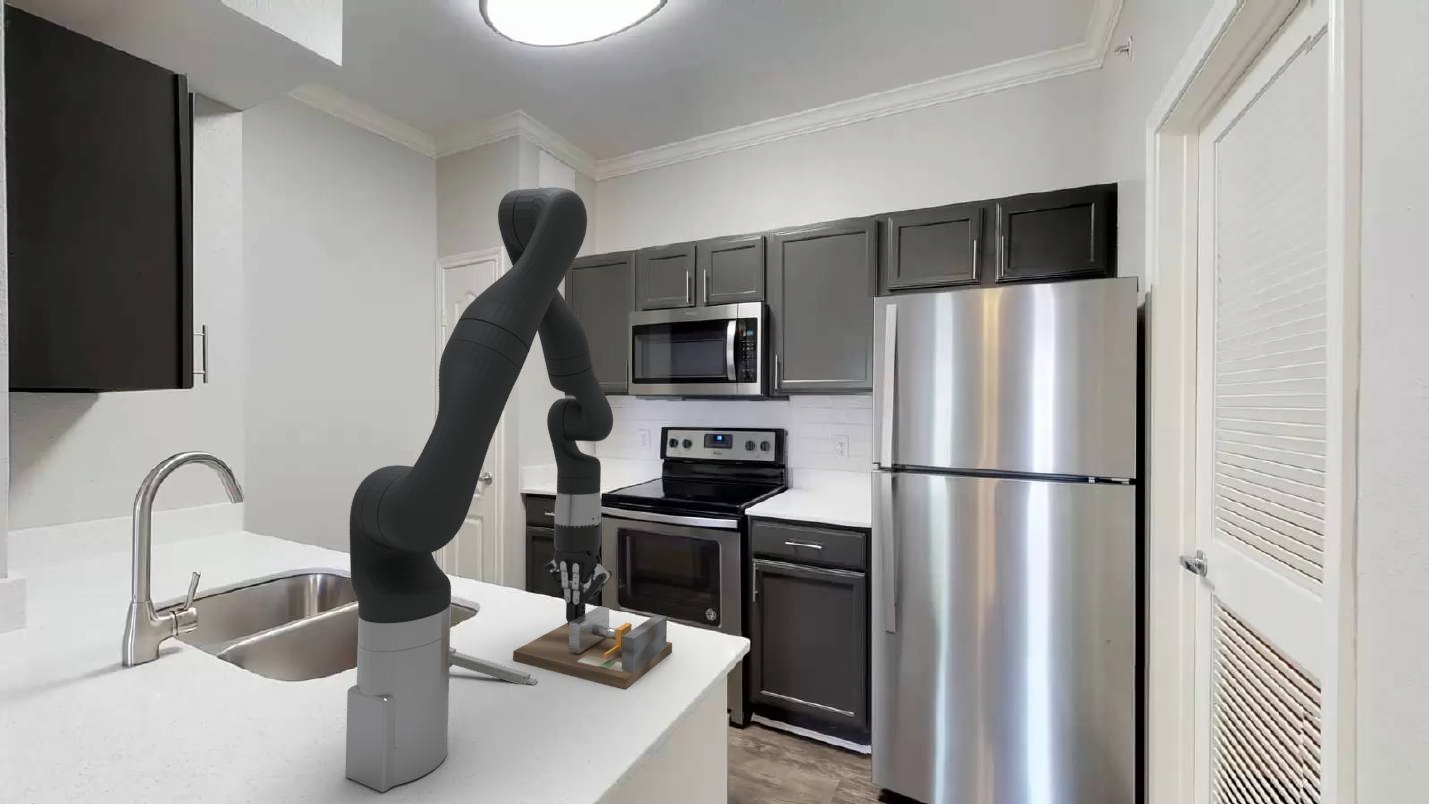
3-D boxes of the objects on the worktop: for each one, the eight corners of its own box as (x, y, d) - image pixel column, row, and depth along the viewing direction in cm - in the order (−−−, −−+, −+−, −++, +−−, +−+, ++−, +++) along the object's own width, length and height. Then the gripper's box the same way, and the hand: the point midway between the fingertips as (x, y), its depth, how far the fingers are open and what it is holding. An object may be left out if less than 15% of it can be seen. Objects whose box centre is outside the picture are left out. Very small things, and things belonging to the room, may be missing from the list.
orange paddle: (607, 658, 85) (608, 638, 86) (602, 657, 86) (602, 637, 86) (631, 642, 91) (631, 623, 91) (625, 641, 92) (626, 622, 92)
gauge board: (625, 689, 82) (626, 643, 82) (513, 660, 90) (513, 619, 90) (671, 651, 95) (672, 612, 95) (569, 629, 103) (570, 593, 103)
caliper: (406, 675, 86) (407, 633, 86) (411, 671, 87) (412, 630, 87) (534, 687, 82) (535, 643, 83) (538, 683, 84) (538, 640, 84)
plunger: (606, 659, 87) (606, 629, 87) (568, 650, 90) (569, 622, 90) (634, 640, 94) (634, 613, 94) (598, 632, 97) (599, 606, 97)
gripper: (530, 519, 93) (528, 625, 93) (597, 527, 88) (595, 640, 88) (560, 511, 100) (558, 610, 100) (624, 519, 95) (622, 623, 95)
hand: (575, 624), depth 94 cm, fingers closed
